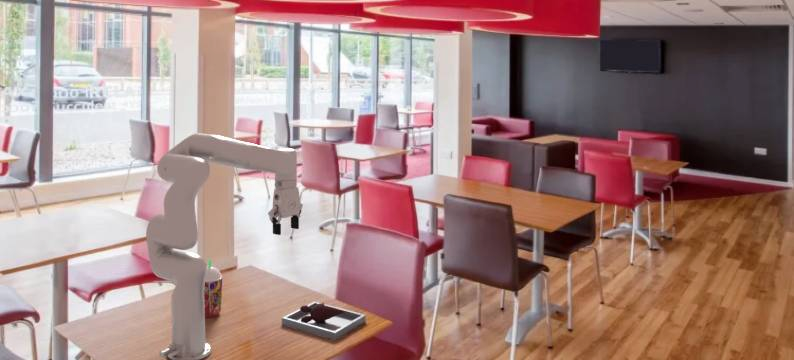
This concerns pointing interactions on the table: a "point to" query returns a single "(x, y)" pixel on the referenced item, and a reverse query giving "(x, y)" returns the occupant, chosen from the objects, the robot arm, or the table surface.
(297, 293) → the table surface
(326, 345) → the table surface
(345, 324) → the serving tray
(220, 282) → the smoothie
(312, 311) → the icecream
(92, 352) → the table surface
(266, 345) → the table surface
